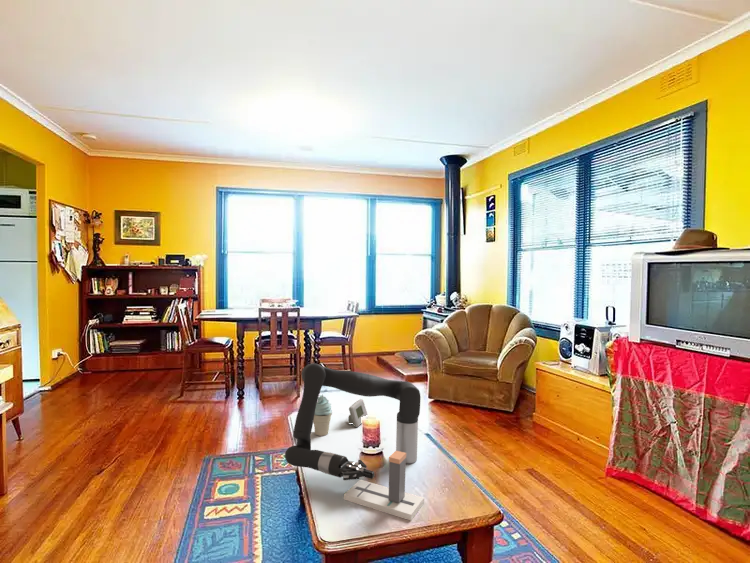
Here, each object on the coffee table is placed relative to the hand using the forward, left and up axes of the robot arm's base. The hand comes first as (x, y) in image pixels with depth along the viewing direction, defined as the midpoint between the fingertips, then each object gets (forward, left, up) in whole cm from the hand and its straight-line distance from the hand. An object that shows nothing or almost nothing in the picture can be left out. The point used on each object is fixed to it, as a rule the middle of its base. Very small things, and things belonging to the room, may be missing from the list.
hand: (373, 475), depth 155 cm
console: (0, +4, -8) cm, 9 cm away
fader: (0, +9, -6) cm, 11 cm away
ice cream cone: (-40, -50, -9) cm, 64 cm away
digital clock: (-63, -41, -9) cm, 75 cm away
